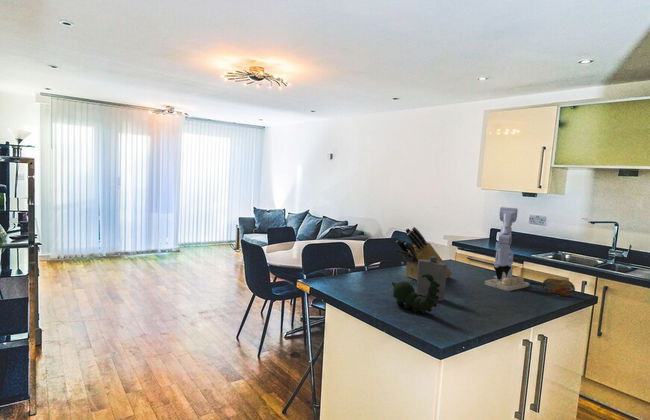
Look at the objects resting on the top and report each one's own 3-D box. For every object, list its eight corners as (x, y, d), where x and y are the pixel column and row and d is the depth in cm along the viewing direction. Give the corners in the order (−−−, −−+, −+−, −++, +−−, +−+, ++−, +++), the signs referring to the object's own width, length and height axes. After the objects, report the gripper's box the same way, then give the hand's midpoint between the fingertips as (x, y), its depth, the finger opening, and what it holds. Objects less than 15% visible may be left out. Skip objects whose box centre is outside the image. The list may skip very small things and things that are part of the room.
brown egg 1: (504, 286, 217) (505, 276, 217) (511, 288, 214) (512, 278, 213) (499, 287, 215) (500, 277, 214) (507, 289, 211) (508, 279, 211)
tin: (541, 292, 212) (543, 277, 211) (541, 291, 215) (542, 276, 214) (574, 297, 205) (575, 282, 204) (573, 296, 208) (575, 280, 207)
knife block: (392, 277, 228) (395, 225, 226) (439, 273, 243) (442, 225, 241) (403, 282, 218) (407, 227, 216) (451, 278, 233) (455, 227, 231)
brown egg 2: (517, 284, 225) (518, 274, 225) (524, 286, 221) (525, 276, 221) (513, 284, 222) (513, 275, 222) (520, 286, 219) (521, 276, 218)
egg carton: (504, 281, 233) (505, 277, 233) (528, 287, 221) (529, 282, 221) (484, 285, 221) (484, 280, 221) (508, 292, 209) (508, 287, 209)
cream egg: (499, 279, 227) (500, 270, 226) (507, 281, 223) (507, 271, 222) (495, 280, 224) (496, 270, 224) (502, 282, 220) (503, 272, 220)
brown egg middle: (510, 285, 221) (511, 275, 221) (518, 287, 218) (519, 277, 217) (506, 286, 219) (507, 276, 218) (514, 288, 215) (514, 278, 215)
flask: (447, 299, 190) (450, 259, 188) (441, 301, 186) (444, 260, 184) (420, 292, 200) (423, 253, 199) (414, 293, 196) (416, 255, 195)
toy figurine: (439, 318, 166) (396, 297, 186) (446, 276, 164) (401, 259, 183) (425, 322, 161) (382, 300, 180) (432, 279, 158) (387, 261, 177)
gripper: (504, 253, 230) (502, 275, 231) (489, 255, 221) (487, 278, 223) (515, 255, 224) (513, 278, 225) (501, 257, 216) (499, 281, 217)
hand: (501, 278), depth 223 cm, fingers closed on cream egg, 4 cm apart
